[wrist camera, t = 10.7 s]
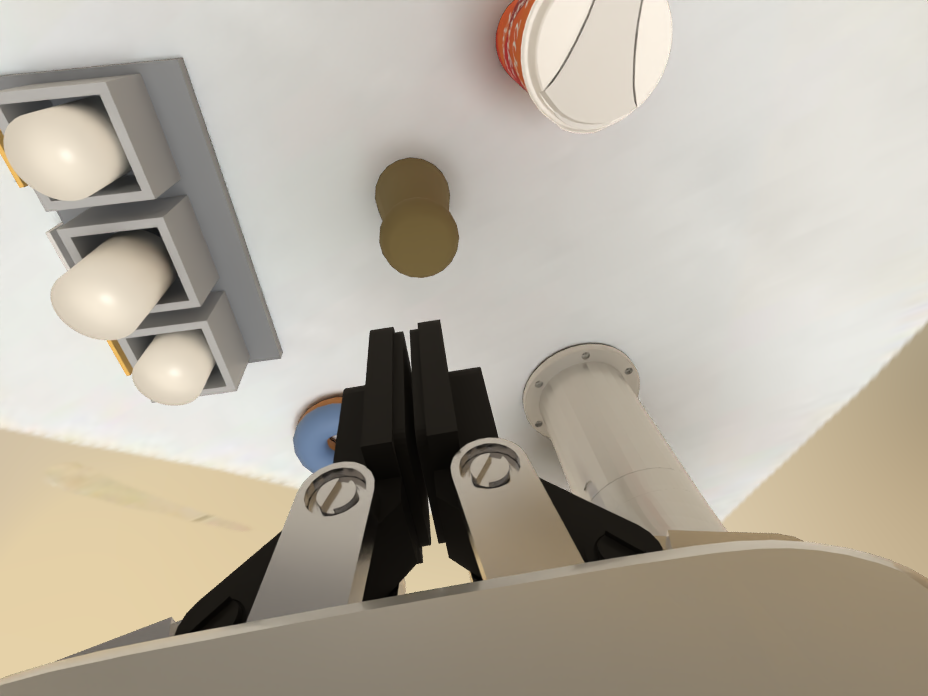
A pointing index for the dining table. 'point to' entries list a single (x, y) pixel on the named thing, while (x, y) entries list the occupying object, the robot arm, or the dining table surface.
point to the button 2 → (174, 367)
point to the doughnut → (317, 434)
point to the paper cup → (585, 56)
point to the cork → (416, 218)
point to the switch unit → (159, 209)
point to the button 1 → (66, 149)
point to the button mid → (114, 285)
